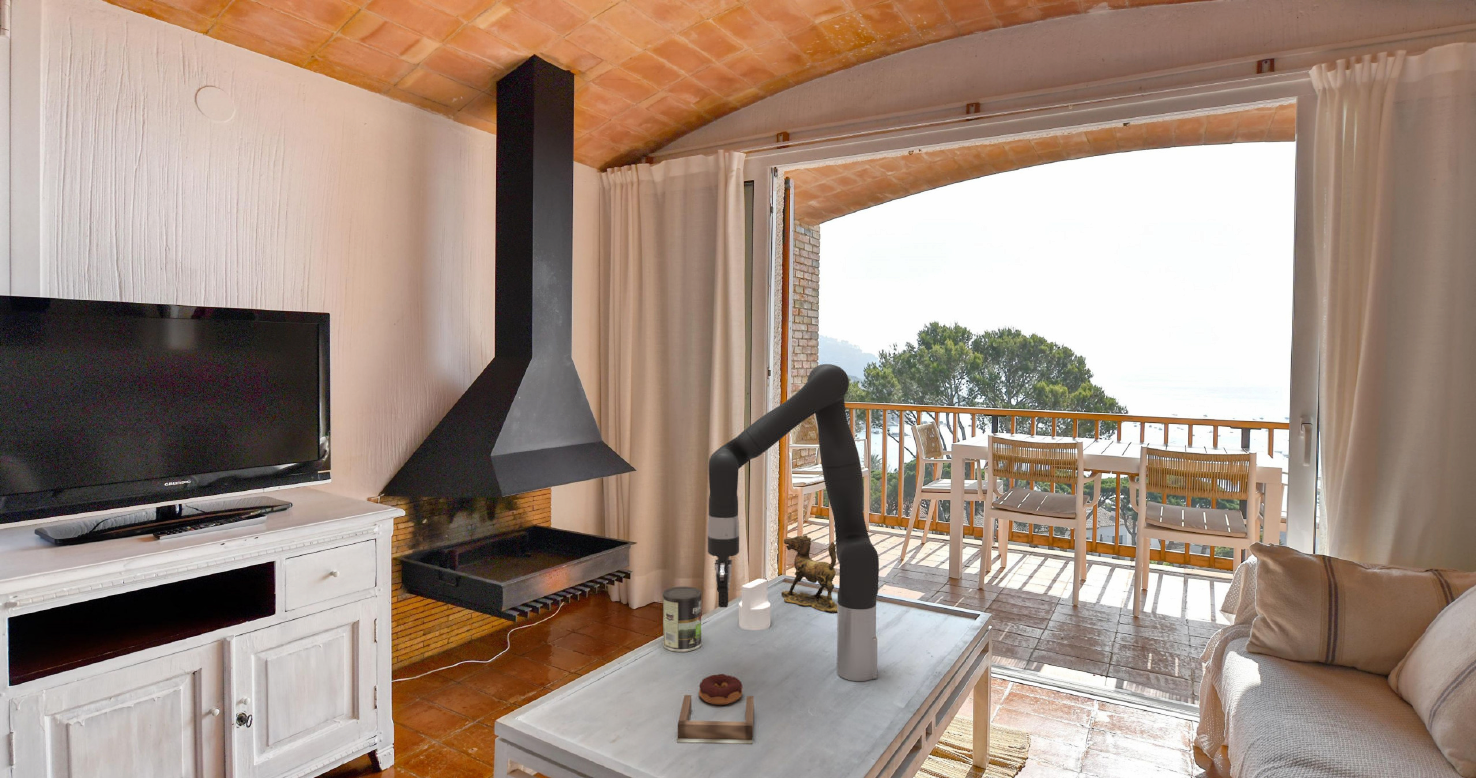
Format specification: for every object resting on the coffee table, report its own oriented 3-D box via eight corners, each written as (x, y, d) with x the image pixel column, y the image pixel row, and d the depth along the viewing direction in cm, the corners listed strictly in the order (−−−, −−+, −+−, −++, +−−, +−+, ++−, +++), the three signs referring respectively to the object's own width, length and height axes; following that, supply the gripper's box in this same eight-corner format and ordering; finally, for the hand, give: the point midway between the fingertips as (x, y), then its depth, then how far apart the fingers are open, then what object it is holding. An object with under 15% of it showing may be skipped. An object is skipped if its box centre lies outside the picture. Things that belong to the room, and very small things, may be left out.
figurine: (798, 588, 240) (799, 527, 239) (858, 608, 221) (859, 542, 220) (770, 597, 231) (771, 534, 230) (830, 618, 212) (831, 550, 211)
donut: (700, 686, 169) (700, 669, 169) (742, 687, 169) (742, 670, 169) (696, 707, 159) (696, 689, 159) (741, 708, 159) (741, 690, 159)
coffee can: (705, 638, 198) (705, 587, 197) (696, 653, 188) (695, 599, 187) (669, 635, 200) (669, 584, 199) (657, 650, 190) (657, 597, 189)
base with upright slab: (750, 616, 214) (750, 576, 214) (776, 623, 209) (776, 581, 208) (732, 625, 207) (732, 584, 206) (758, 632, 202) (758, 590, 201)
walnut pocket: (753, 709, 158) (753, 696, 158) (752, 743, 144) (752, 729, 144) (684, 708, 159) (684, 694, 158) (676, 742, 145) (676, 727, 145)
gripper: (738, 541, 167) (738, 615, 167) (740, 527, 180) (740, 596, 181) (705, 540, 167) (705, 615, 168) (709, 526, 181) (710, 595, 181)
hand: (723, 604), depth 174 cm, fingers closed
